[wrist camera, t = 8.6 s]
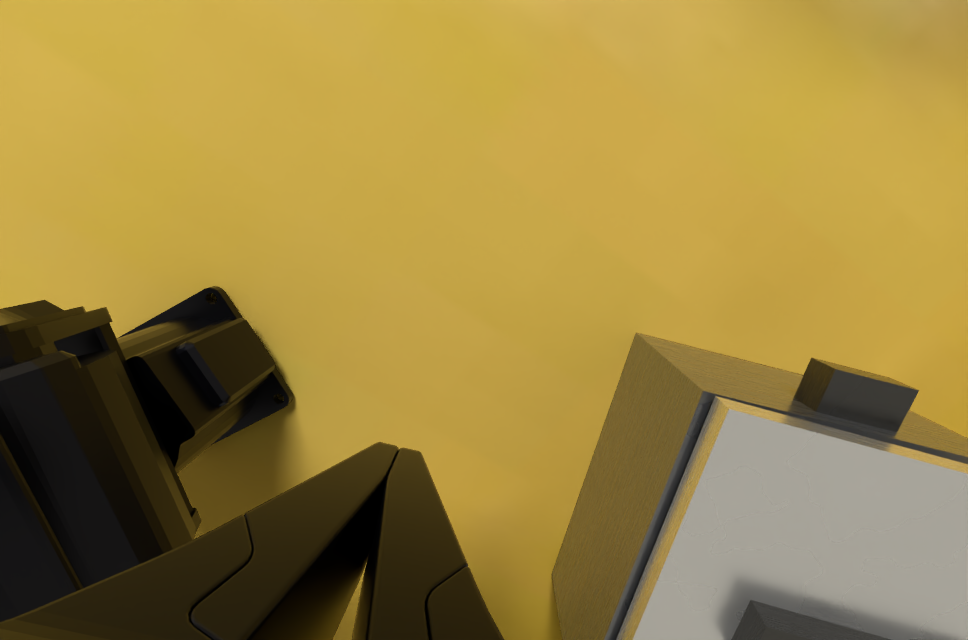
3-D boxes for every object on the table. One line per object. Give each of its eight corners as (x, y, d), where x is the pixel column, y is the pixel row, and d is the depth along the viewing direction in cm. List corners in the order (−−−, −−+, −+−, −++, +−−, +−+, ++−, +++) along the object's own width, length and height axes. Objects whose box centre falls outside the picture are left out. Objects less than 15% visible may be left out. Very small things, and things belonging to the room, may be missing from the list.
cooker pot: (543, 597, 25) (562, 743, 18) (647, 300, 21) (721, 344, 14) (749, 644, 26) (843, 802, 19) (890, 362, 22) (1073, 434, 15)
